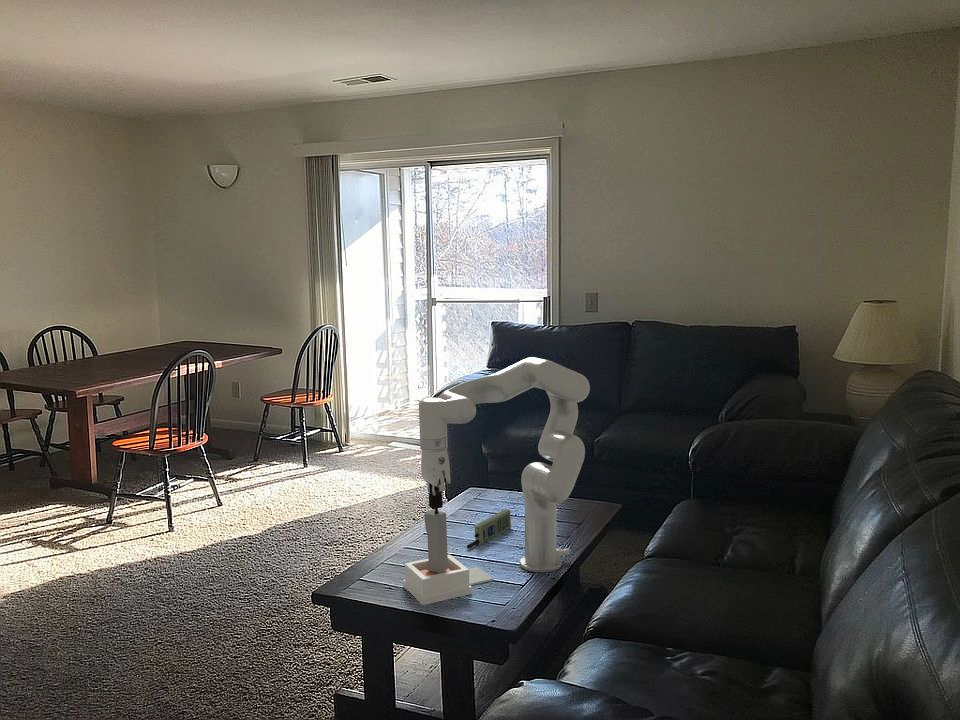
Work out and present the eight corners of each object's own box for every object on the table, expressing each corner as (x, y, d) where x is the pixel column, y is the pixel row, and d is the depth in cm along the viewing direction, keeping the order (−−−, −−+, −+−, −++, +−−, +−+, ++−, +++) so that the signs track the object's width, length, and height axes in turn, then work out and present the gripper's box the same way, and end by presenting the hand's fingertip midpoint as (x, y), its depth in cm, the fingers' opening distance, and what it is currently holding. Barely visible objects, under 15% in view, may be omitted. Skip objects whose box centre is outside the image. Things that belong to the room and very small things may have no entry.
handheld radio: (512, 528, 277) (472, 551, 256) (504, 527, 278) (464, 550, 258) (511, 509, 276) (471, 531, 255) (503, 508, 278) (463, 530, 257)
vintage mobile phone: (434, 565, 230) (431, 481, 226) (448, 569, 227) (445, 483, 223) (425, 570, 227) (422, 484, 223) (440, 574, 224) (436, 487, 220)
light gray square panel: (477, 568, 242) (477, 566, 242) (493, 580, 233) (493, 578, 233) (447, 575, 237) (447, 573, 237) (462, 587, 228) (462, 585, 228)
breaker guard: (450, 576, 236) (449, 553, 235) (471, 593, 224) (471, 569, 223) (403, 586, 230) (402, 563, 229) (422, 605, 217) (421, 580, 216)
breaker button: (444, 575, 231) (444, 565, 231) (455, 583, 225) (454, 573, 225) (418, 580, 228) (418, 570, 227) (428, 589, 222) (428, 579, 221)
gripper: (458, 447, 216) (460, 512, 219) (434, 435, 229) (436, 497, 232) (432, 450, 213) (434, 517, 215) (410, 439, 226) (412, 502, 229)
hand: (435, 507), depth 224 cm, fingers closed on vintage mobile phone, 1 cm apart
